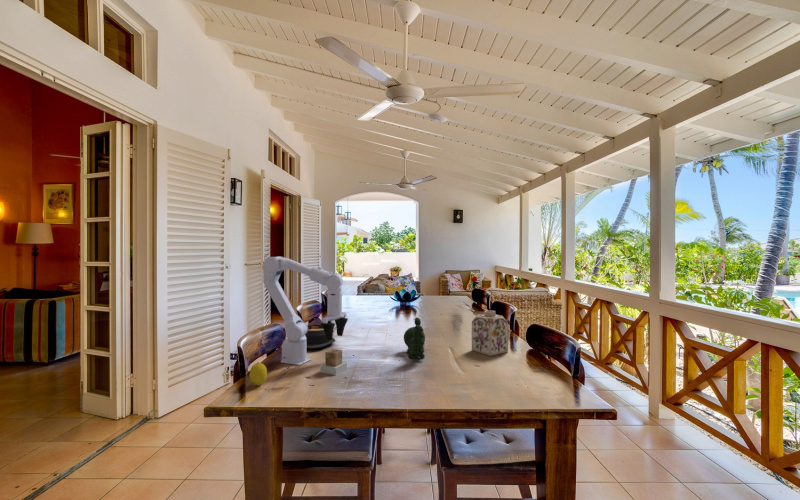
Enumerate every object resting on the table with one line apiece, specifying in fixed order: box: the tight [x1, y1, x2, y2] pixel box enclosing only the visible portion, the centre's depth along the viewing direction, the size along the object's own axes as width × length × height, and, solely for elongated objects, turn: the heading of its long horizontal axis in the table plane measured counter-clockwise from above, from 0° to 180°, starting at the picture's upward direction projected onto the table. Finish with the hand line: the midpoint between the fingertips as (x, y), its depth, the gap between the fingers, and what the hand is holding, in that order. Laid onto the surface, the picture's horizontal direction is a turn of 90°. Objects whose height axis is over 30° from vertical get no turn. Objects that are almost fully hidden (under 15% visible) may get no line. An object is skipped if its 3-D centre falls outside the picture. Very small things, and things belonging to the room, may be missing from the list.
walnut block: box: [324, 348, 343, 367], centre depth 146 cm, size 4×4×5 cm
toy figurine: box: [403, 317, 426, 360], centre depth 167 cm, size 9×19×25 cm
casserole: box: [305, 323, 336, 349], centre depth 184 cm, size 25×19×8 cm
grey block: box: [319, 361, 348, 376], centre depth 146 cm, size 7×7×3 cm
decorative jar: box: [471, 310, 509, 357], centre depth 173 cm, size 12×12×18 cm
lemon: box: [249, 361, 268, 387], centre depth 131 cm, size 6×6×8 cm
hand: (334, 337), depth 157 cm, fingers open, 7 cm apart
